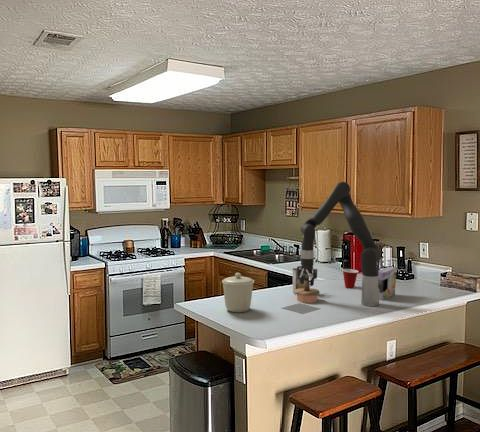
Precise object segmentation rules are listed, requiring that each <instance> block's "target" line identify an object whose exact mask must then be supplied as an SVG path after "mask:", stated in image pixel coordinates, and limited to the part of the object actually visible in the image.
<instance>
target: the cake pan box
mask: <svg viewBox="0 0 480 432" xmlns="http://www.w3.org/2000/svg"><path fill="white" fill-rule="evenodd" d="M378 272H379V275H378V288H379V289H380V292H379V301H383V300H385V299H388V298H390V297H393V296H395V295H396V283H397V267H393V266H388V267H387V268H385V267H384V268H382V269H379V270H378Z"/></svg>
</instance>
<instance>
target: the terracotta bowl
mask: <svg viewBox="0 0 480 432" xmlns="http://www.w3.org/2000/svg"><path fill="white" fill-rule="evenodd" d="M317 295H318V294H317ZM317 295H310V296H308V295H299V294H297V295H296V300H297V302H299V303H300V302H301V303H305V304H306V303H315V302H317V297H318V296H317Z"/></svg>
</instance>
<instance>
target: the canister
mask: <svg viewBox="0 0 480 432" xmlns="http://www.w3.org/2000/svg"><path fill="white" fill-rule="evenodd" d="M221 283H222V288H223V295H224V304H225V308H226V310H227V311H228V312H231V313H244V312H248V311H249V309H250V308H251V306H252V305H251V304H252V296H253V288H254V284H255V280H254V279H252V278H251V277H247V276H243V275H242V273H240V272H235V274H234V275H233V276H229V277H226V278H224V279H222V280H221Z"/></svg>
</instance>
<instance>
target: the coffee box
mask: <svg viewBox="0 0 480 432" xmlns="http://www.w3.org/2000/svg"><path fill="white" fill-rule="evenodd" d="M301 272H302V269H301ZM303 278H304V281H305V280H308V281H310V277H309V276H308V275H307V274H305V275H304V277H303ZM298 288H304V284H301V283H300V277H299V276H297V267H294V268H292V293H293V295H295V294H296V293H294V290H295V289H298Z"/></svg>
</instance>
